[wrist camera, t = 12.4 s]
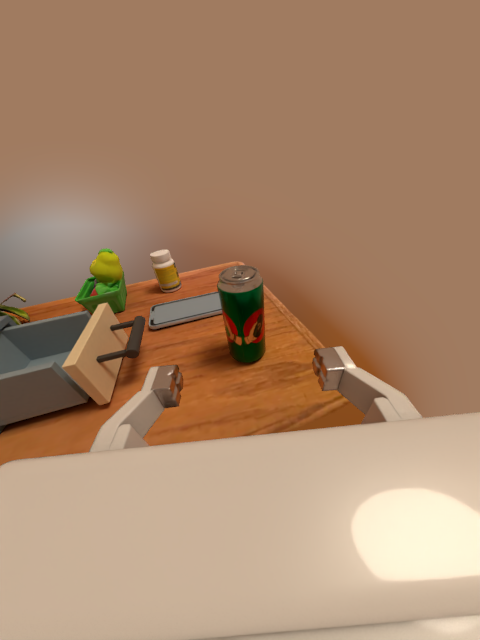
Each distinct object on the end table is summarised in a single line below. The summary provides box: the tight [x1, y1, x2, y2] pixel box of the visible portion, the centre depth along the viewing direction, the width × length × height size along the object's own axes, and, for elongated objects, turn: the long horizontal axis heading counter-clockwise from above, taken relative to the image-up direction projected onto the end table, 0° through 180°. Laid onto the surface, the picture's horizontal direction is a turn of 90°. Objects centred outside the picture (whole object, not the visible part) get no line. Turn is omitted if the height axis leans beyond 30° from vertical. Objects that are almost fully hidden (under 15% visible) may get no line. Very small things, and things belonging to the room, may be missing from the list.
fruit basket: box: [75, 249, 127, 314], centre depth 41 cm, size 11×9×11 cm
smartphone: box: [149, 292, 222, 329], centre depth 38 cm, size 7×1×15 cm
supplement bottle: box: [150, 250, 181, 293], centre depth 45 cm, size 5×5×8 cm
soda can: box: [217, 265, 265, 363], centre depth 25 cm, size 5×5×12 cm
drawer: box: [0, 303, 145, 426], centre depth 25 cm, size 18×12×7 cm, turn 105°
